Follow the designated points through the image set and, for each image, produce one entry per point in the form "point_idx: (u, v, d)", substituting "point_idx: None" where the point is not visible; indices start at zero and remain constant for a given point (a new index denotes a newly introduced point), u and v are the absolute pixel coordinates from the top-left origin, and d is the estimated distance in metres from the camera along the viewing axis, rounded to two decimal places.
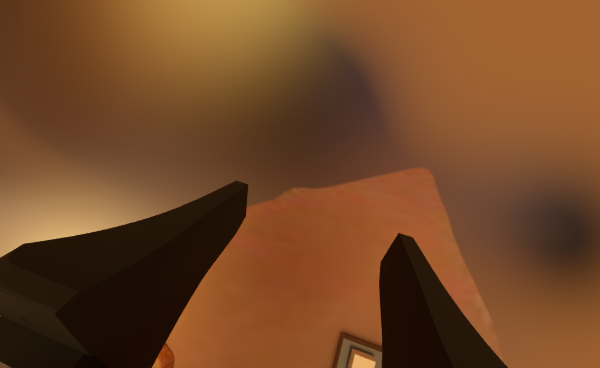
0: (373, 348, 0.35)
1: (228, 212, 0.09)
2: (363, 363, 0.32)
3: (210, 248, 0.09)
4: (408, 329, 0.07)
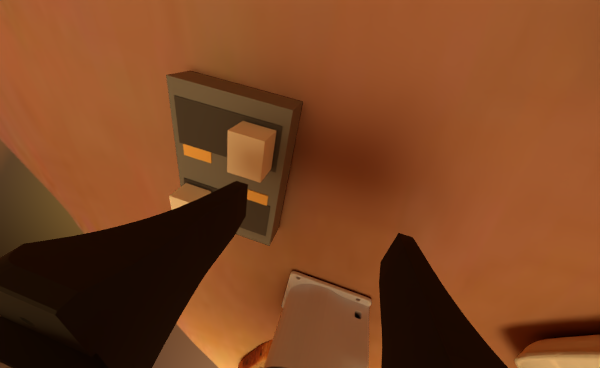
0: None
1: (228, 212, 0.10)
2: None
3: (210, 248, 0.09)
4: (408, 329, 0.07)
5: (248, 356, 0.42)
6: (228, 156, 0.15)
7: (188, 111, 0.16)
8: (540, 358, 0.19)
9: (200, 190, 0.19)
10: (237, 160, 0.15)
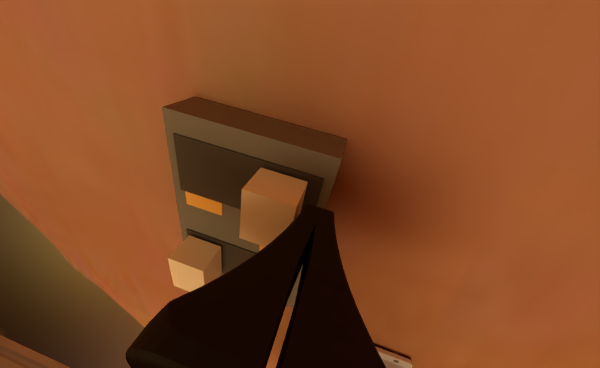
0: None
1: (309, 240, 0.09)
2: (180, 277, 0.15)
3: (294, 279, 0.09)
4: (300, 289, 0.07)
5: None
6: (241, 220, 0.10)
7: (192, 154, 0.12)
8: None
9: (208, 245, 0.15)
10: (254, 225, 0.10)
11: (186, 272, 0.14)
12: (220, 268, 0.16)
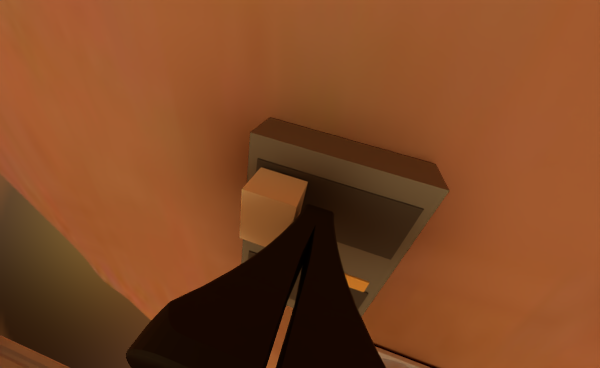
0: None
1: (310, 240, 0.09)
2: None
3: (294, 279, 0.09)
4: (300, 289, 0.07)
5: None
6: (241, 220, 0.10)
7: None
8: None
9: None
10: (254, 225, 0.10)
11: None
12: None
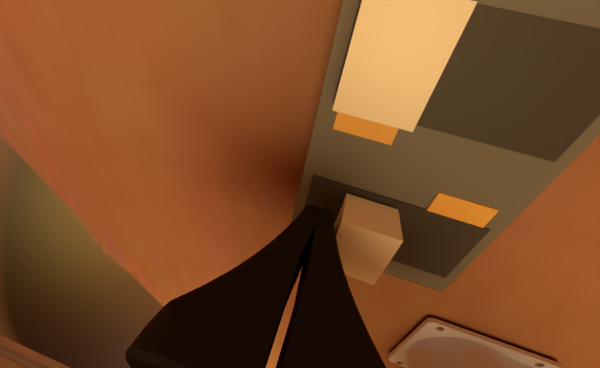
0: None
1: (309, 240, 0.09)
2: (347, 253, 0.10)
3: (294, 279, 0.09)
4: (300, 289, 0.07)
5: None
6: (347, 65, 0.06)
7: None
8: None
9: (381, 207, 0.10)
10: (368, 74, 0.06)
11: (363, 245, 0.09)
12: None
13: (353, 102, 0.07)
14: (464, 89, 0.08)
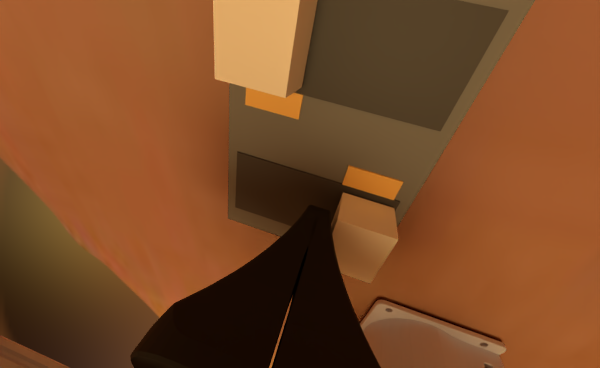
0: None
1: None
2: (343, 251, 0.10)
3: (297, 280, 0.09)
4: (296, 288, 0.08)
5: None
6: (216, 34, 0.07)
7: None
8: None
9: (377, 205, 0.10)
10: (235, 42, 0.07)
11: (359, 243, 0.09)
12: None
13: (230, 70, 0.07)
14: (350, 62, 0.08)
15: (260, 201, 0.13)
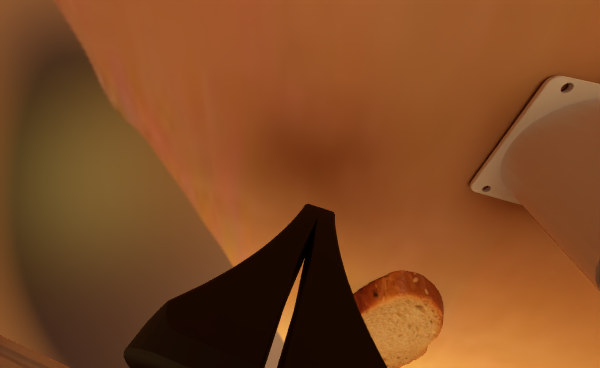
0: None
1: (308, 239, 0.09)
2: None
3: (293, 278, 0.09)
4: (301, 290, 0.07)
5: None
6: None
7: None
8: None
9: None
10: None
11: None
12: None
13: None
14: None
15: None
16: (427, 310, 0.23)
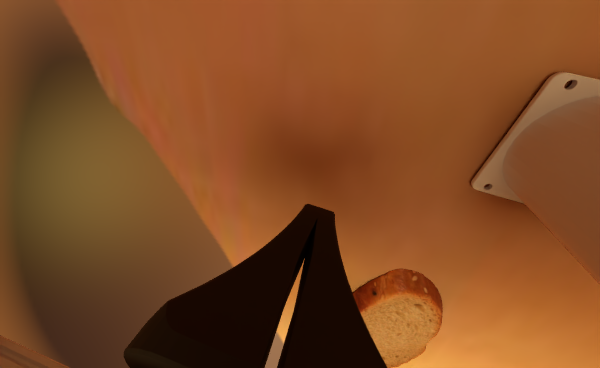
0: None
1: (308, 239, 0.09)
2: None
3: (293, 278, 0.09)
4: (301, 290, 0.07)
5: None
6: None
7: None
8: None
9: None
10: None
11: None
12: None
13: None
14: None
15: None
16: (426, 308, 0.23)
